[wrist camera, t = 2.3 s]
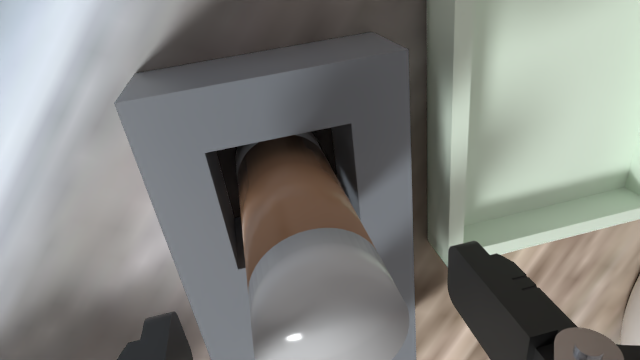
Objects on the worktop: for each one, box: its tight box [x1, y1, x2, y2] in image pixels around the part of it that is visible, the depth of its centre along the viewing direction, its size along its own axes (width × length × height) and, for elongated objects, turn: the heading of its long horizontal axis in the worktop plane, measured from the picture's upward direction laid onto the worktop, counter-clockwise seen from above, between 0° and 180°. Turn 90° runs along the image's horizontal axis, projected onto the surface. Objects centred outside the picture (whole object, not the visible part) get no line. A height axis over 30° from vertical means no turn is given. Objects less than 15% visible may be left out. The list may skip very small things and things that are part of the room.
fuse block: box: [114, 32, 416, 360], centre depth 20 cm, size 18×10×4 cm, turn 7°
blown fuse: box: [235, 132, 409, 360], centre depth 15 cm, size 4×4×11 cm
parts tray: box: [427, 0, 640, 267], centre depth 20 cm, size 16×13×2 cm
